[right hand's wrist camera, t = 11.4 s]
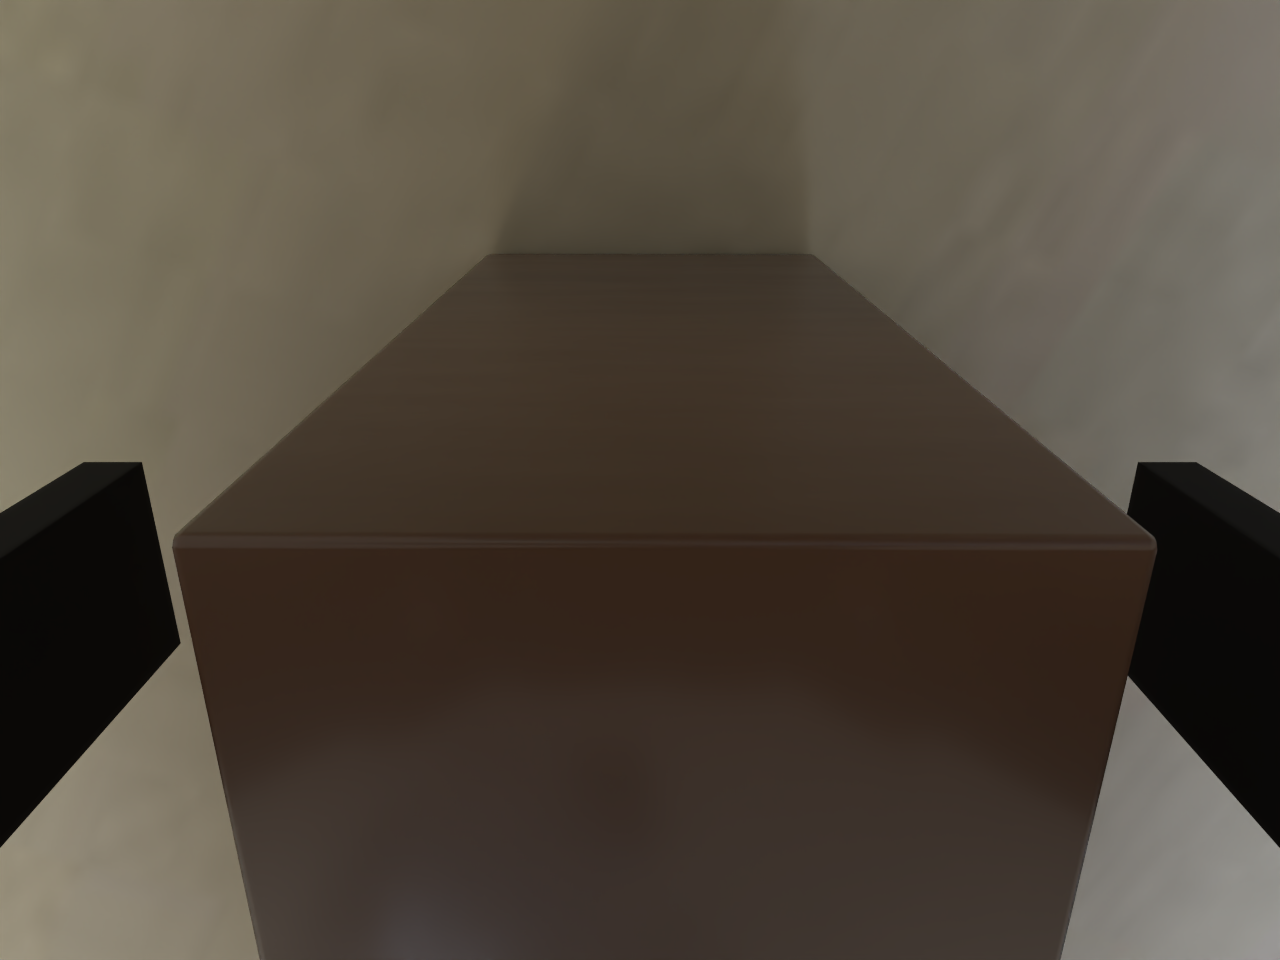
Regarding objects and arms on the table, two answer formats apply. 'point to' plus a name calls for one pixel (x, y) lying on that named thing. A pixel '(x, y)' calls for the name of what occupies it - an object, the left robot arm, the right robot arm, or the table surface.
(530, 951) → the plank
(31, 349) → the table surface
